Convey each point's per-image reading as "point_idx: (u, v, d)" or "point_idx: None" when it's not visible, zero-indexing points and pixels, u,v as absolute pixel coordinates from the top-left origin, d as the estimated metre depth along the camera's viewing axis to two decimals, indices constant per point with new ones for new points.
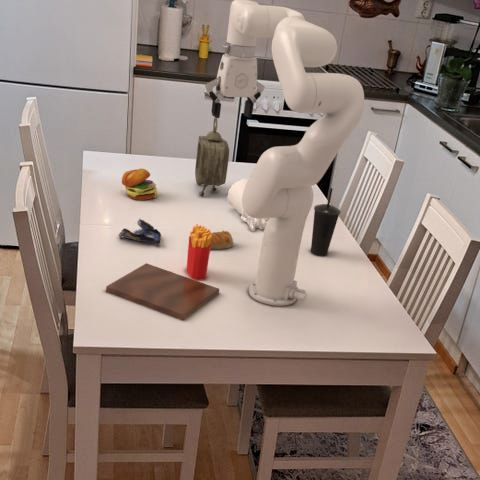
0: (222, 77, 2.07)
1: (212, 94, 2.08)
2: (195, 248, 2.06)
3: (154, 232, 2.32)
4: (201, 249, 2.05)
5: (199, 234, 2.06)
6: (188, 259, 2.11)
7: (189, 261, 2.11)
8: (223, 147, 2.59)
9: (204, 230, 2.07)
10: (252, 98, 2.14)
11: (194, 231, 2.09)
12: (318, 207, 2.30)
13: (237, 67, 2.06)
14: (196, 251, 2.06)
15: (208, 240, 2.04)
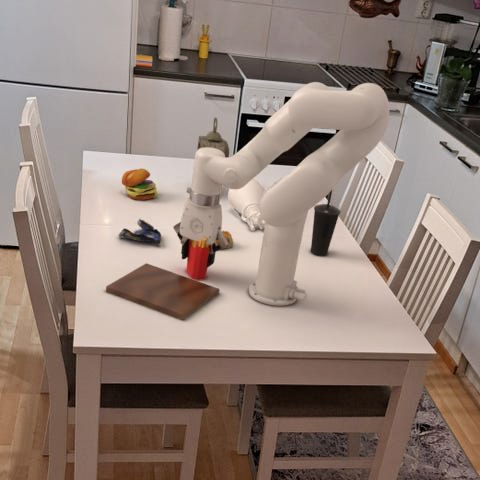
0: None
1: (179, 235, 2.09)
2: (195, 248, 2.06)
3: (154, 232, 2.32)
4: (201, 249, 2.05)
5: None
6: (188, 259, 2.11)
7: (189, 261, 2.11)
8: (223, 147, 2.59)
9: None
10: None
11: None
12: (318, 207, 2.30)
13: (192, 211, 2.03)
14: (196, 251, 2.06)
15: None
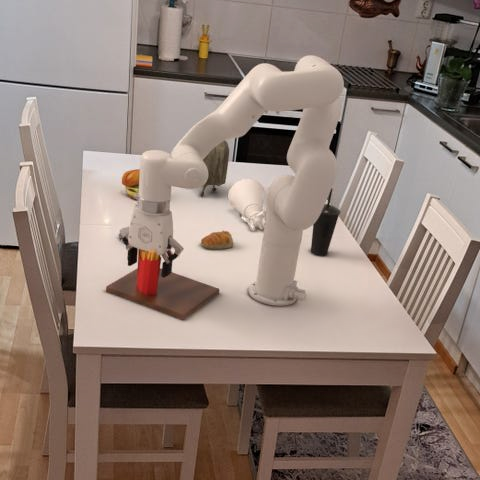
0: None
1: (124, 239, 1.95)
2: (144, 261, 1.92)
3: None
4: (150, 262, 1.90)
5: None
6: (138, 272, 1.97)
7: (138, 275, 1.96)
8: (223, 147, 2.59)
9: None
10: (164, 257, 1.91)
11: None
12: None
13: (140, 219, 1.88)
14: (145, 264, 1.92)
15: None
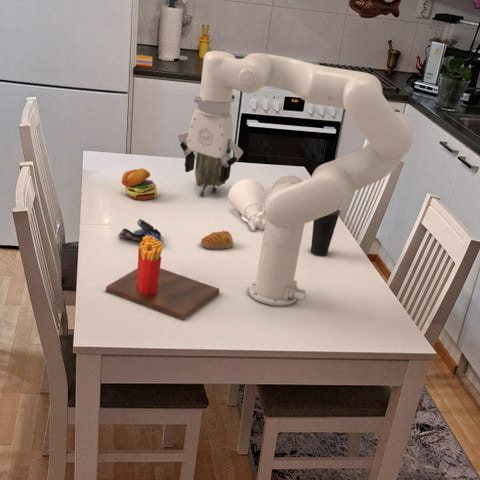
0: None
1: (182, 145, 1.96)
2: (144, 261, 1.92)
3: (154, 232, 2.32)
4: (150, 262, 1.90)
5: (148, 246, 1.92)
6: (138, 272, 1.97)
7: (138, 275, 1.96)
8: None
9: (154, 242, 1.93)
10: (223, 161, 1.92)
11: (144, 242, 1.94)
12: None
13: (200, 121, 1.89)
14: (145, 264, 1.92)
15: (157, 252, 1.90)
